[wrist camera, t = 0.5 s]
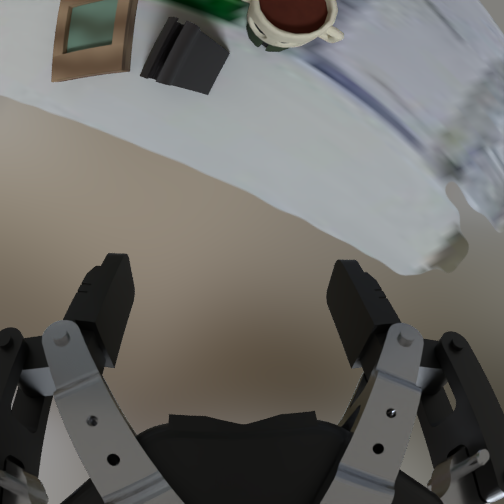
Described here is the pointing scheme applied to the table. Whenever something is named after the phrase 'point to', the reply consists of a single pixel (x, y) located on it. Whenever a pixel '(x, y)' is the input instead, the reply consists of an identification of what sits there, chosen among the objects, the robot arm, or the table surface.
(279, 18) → the character mug
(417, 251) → the table surface
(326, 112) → the table surface
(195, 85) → the phone stand
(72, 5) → the wooden frame
